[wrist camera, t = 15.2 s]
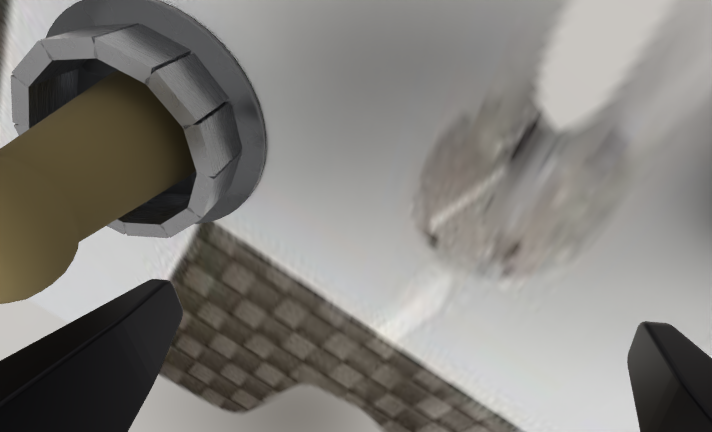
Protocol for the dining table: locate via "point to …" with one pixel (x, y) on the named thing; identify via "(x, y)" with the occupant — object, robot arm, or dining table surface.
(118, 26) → the duct collar
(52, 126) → the olive game pawn
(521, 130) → the dining table surface
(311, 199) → the dining table surface
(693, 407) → the robot arm
